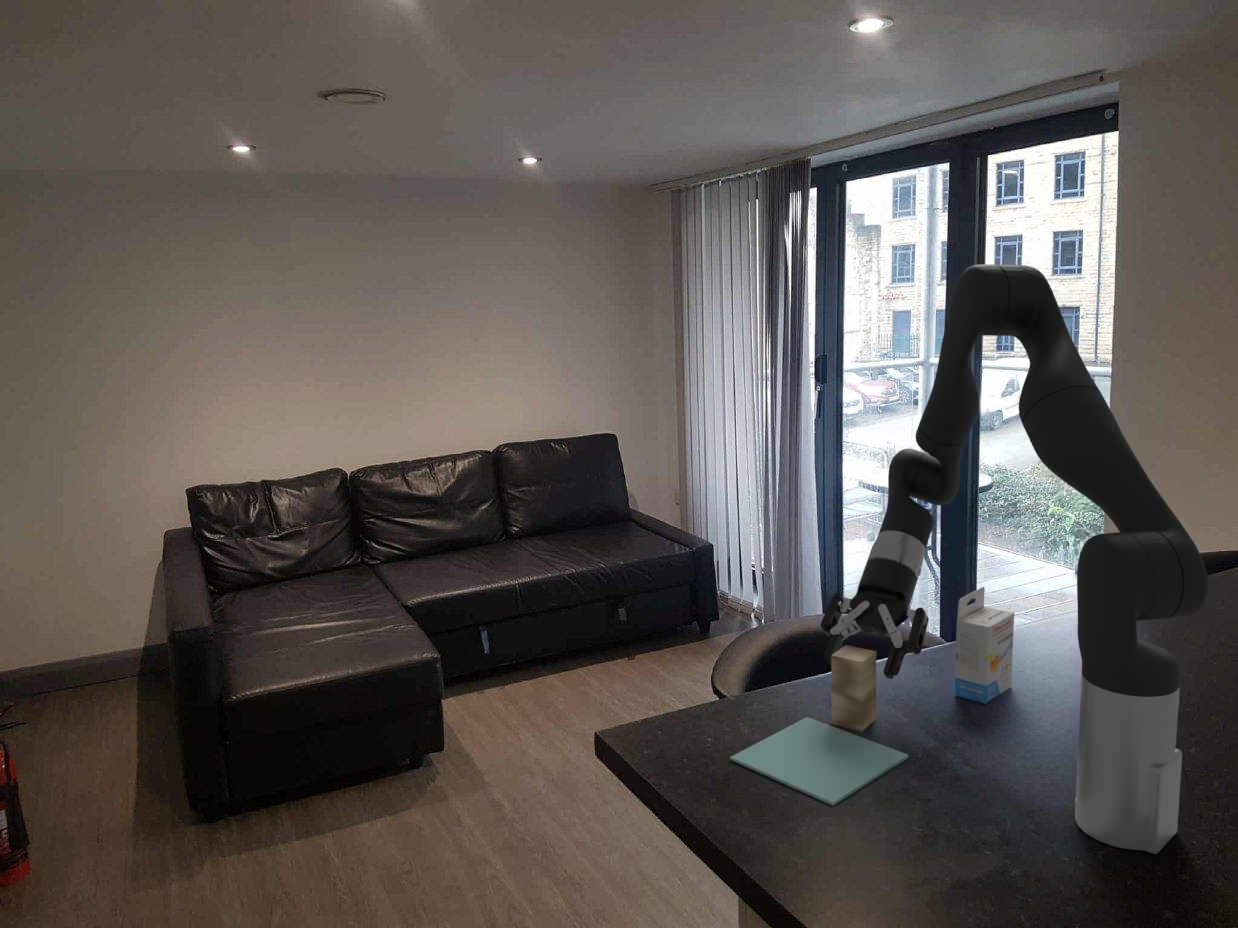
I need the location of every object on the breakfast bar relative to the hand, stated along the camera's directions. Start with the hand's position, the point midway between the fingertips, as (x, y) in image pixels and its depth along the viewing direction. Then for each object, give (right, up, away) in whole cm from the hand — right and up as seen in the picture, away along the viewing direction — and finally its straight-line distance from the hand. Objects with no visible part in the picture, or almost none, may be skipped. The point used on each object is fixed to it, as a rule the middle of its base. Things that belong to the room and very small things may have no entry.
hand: (858, 669), depth 132 cm
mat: (-8, -9, -10) cm, 16 cm away
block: (-1, -7, 0) cm, 7 cm away
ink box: (+20, -5, +8) cm, 23 cm away
